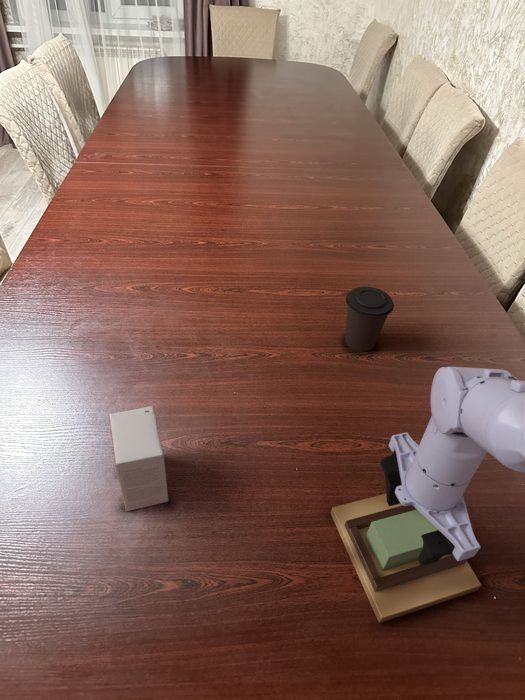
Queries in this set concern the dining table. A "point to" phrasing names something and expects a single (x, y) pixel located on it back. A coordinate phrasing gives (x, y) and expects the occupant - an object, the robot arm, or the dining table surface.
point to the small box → (138, 458)
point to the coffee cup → (366, 316)
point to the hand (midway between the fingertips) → (410, 530)
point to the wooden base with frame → (402, 581)
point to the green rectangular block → (398, 538)
